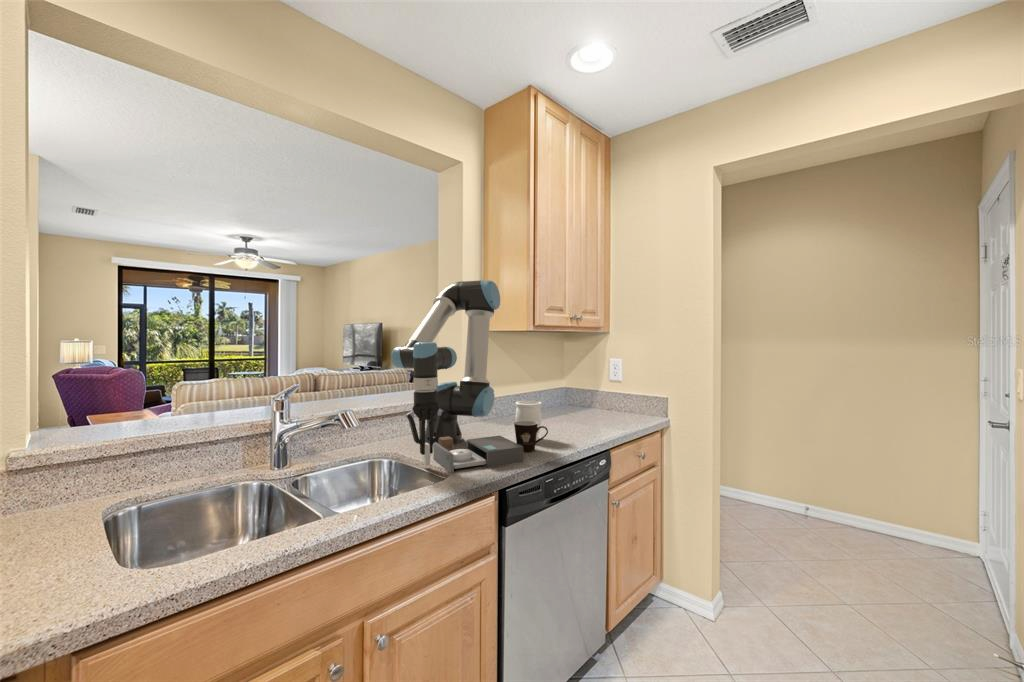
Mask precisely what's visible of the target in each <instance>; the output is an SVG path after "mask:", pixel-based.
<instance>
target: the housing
mask: <svg viewBox="0 0 1024 682" xmlns="http://www.w3.org/2000/svg"><path fill="white" fill-rule="evenodd" d="M466 449H469V450H471V451H472V452H474V453H475V454H477V455H479V456H480V457H482V458H483V459H485V460H486V464H483V466H484V467H486V468H495V467H501V466H508V465H512V464H513V465H514V464H520V463H524V452H523V446H521V445H519V444H517V442H516V441H513V440H511V439H508V438H506V437H504V436H503V435H500V434H499V435H494V436H484V437H478V438H470V439H469V438H468V439H466Z"/></svg>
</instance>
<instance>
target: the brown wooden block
mask: <svg viewBox="0 0 1024 682" xmlns="http://www.w3.org/2000/svg"><path fill="white" fill-rule="evenodd" d="M439 445H441V446H442V447H444V448H445V449H446V450H448V451H451V450H454V443H453V438H451V437H449V436H448V437H440V438H439Z"/></svg>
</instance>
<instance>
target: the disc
mask: <svg viewBox="0 0 1024 682" xmlns="http://www.w3.org/2000/svg"><path fill="white" fill-rule="evenodd" d="M449 452H451V453H452V454H453V455H454V462H463V461H468V460H471V459H472V451H471V450H467V448H465V449H464V448H457V449H453V450H451V451H449Z"/></svg>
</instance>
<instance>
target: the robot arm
mask: <svg viewBox="0 0 1024 682" xmlns="http://www.w3.org/2000/svg"><path fill="white" fill-rule="evenodd" d="M432 305H433V306H432V307H431V308H430V310H429V311H428V313H427V314H426V315H425V316H424V318H423V319H422V321H421V323H420V324H419V325H418V326H417V328H416V329H415V331H414V332H413V333H412V335H411V336H410V338H409V339H408V340H407V342H406V343H405V345H403V346H401V345H400V346H397V347H394V348H393V349H392V351H391V356H390V357H391V362H392V365H393V366H394V367H395V368H399V369H404V370H405V369H406V370H407V369H408V370H409V369H413V390H414V392H413V406H412V408H411V409H412V410H411V411H409V412H408V413H407V412H406V413H405V418H406V419H407V420H408V422H409V426H410V427H409V428H410V431H411V435H412V439H413V441H414V443H416V444H418V445H419V454H421V456H422V464H423V465H424V466H430V465H431V454H434V449H433V443H435V442H437V443H438V444H439V438H440V437H448V436H449V437H451V438H453V444H456V443H459V442H461V441H462V439H463V434H462V431H461V427H460V425H459V422H458V416H462V417H473V418H478V417H480V418H481V417H486V416H488V415H489V414H490V412H492V409H493V406H494V402H495V390H494V388H493V387H491V386H490V381H489V380H488V379H487V373H488V370H487V369H488V353H489V339H490V321H491V318H492V317H494V315H495V310H498V309H499V308H500V305H501V295H500V290H499V287H498V286H497V284H496V283H495V282H494V281H493V280H485V279H481V280H466V281H463V280H462V281H461V280H460V281H456V282H453V283H451V284H450V285H449V286H447V287H445V288H444V289H443V290H441V292H439V294H438V295H437V296H436V297H435V298H434V300H433V304H432ZM459 311H464V313H465V315H466V316H467V317H468V320H467V333H466V334H467V335H466V345H465V346H466V348H465V349H466V350H465V363H464V376H463V378H461V380H460V381H459V385H458V382H457V381H448V382H447V381H446V382H439V383H438V370H439V371H440V370H448V369H450V368H452V367H454V365H456V363H457V360H458V356H457V353H456V351H455V350H454V349H453V348H452V347H450V346H438V344H437V343H436V342H434V341H435V339H436V338H437V337H438V335H439V333H440V332H441V330H442V329H443V327H444V326H445V324H446V322H447V321H448V319H449V318H450V317H452V316H454V315H455V314H456V312H459ZM415 416H416V417H417V418H418V426H419V427H418V429H417V426H416V422H415V419H414V418H415ZM418 430H419V432H418Z"/></svg>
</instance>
